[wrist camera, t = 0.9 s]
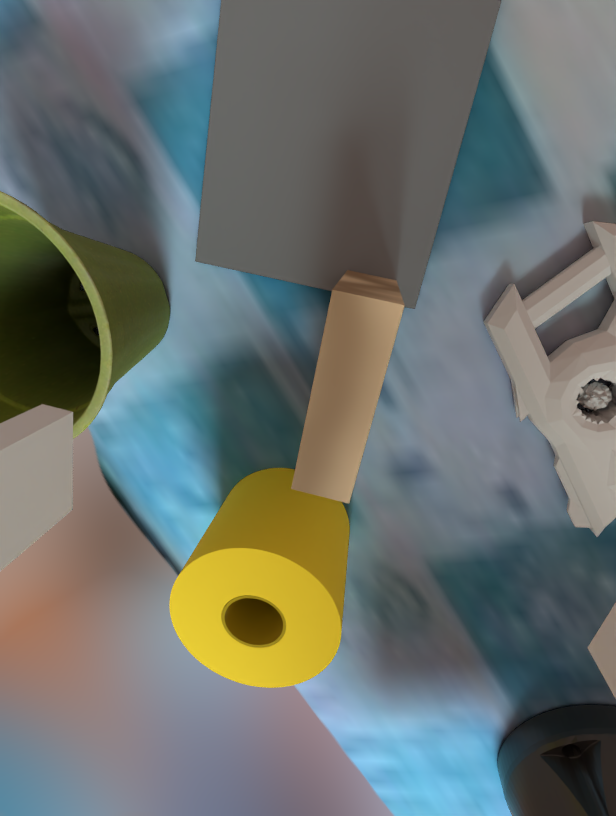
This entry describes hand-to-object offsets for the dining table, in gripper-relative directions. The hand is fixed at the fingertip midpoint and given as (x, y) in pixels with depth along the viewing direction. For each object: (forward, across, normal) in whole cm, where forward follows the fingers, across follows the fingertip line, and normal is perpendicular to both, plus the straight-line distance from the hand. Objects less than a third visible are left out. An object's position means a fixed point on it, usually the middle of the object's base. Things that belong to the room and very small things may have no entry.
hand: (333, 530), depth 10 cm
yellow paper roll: (+19, +2, +14) cm, 24 cm away
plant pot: (+20, +16, +1) cm, 25 cm away
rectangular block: (+19, 0, 0) cm, 19 cm away
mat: (+19, +4, -11) cm, 23 cm away
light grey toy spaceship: (+20, -15, -2) cm, 25 cm away
